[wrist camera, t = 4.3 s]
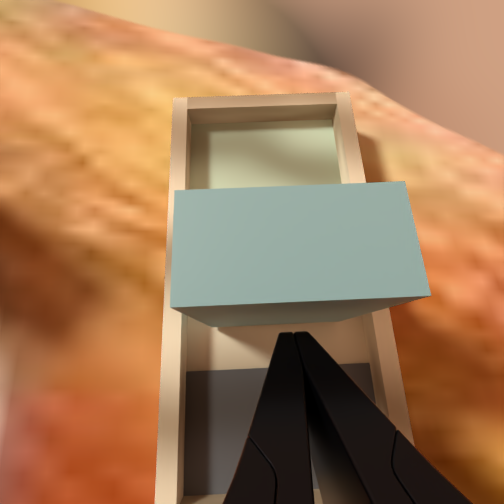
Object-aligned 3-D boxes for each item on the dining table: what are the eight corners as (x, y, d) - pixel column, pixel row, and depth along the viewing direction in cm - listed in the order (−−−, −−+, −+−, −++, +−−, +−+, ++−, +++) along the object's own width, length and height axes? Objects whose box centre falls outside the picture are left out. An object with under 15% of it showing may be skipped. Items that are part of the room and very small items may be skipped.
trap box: (396, 492, 13) (429, 524, 11) (171, 504, 13) (153, 540, 11) (337, 123, 19) (349, 91, 17) (182, 129, 19) (173, 97, 17)
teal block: (339, 321, 14) (431, 295, 7) (211, 327, 14) (169, 307, 7) (331, 260, 15) (404, 181, 8) (211, 265, 15) (174, 190, 8)
